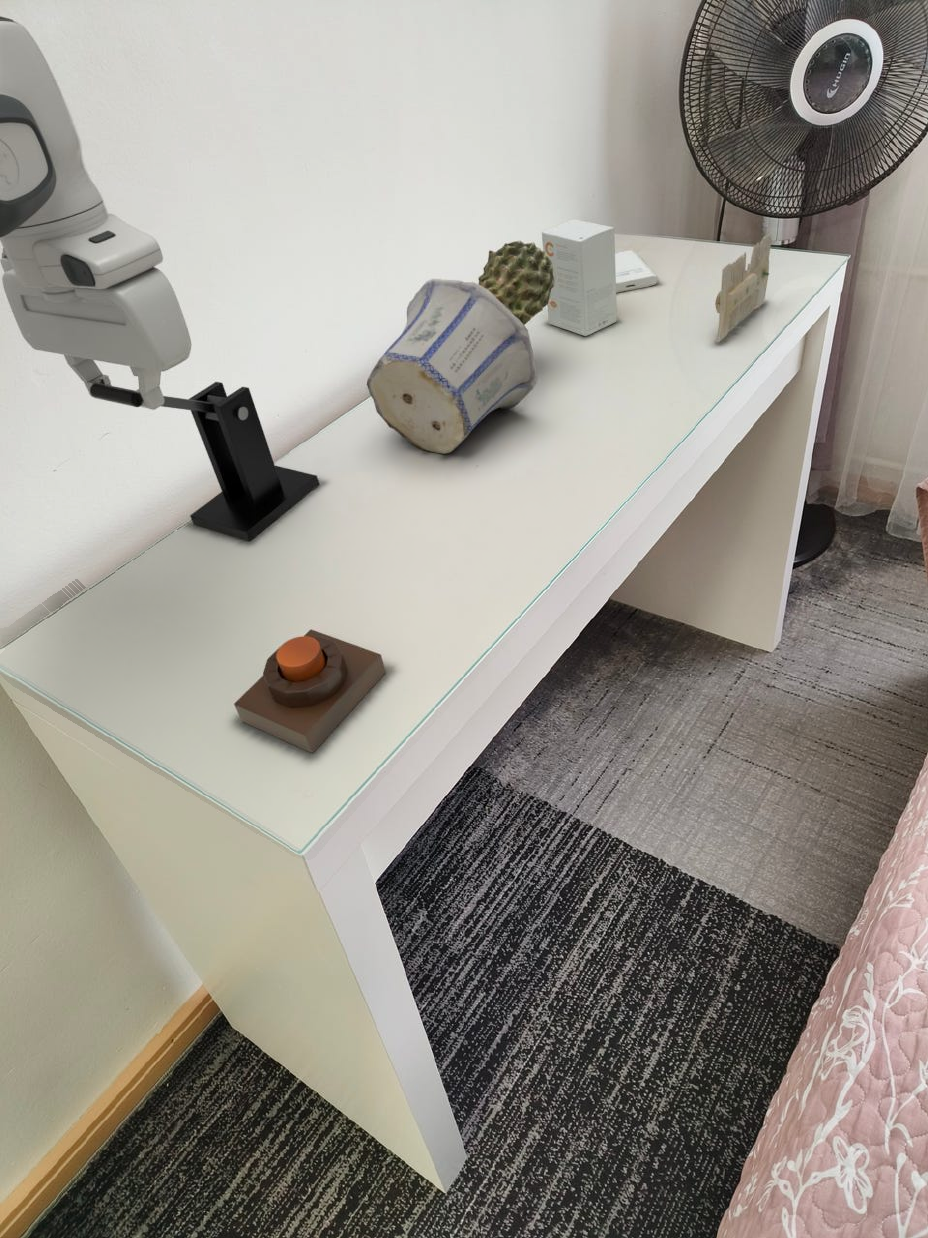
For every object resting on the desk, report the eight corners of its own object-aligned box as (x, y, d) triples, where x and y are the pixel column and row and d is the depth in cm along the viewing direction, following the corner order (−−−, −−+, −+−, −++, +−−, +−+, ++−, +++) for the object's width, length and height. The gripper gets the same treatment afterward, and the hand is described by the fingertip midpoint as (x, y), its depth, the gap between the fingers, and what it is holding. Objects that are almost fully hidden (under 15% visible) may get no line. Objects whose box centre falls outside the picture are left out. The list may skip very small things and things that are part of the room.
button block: (312, 754, 67) (299, 720, 65) (241, 721, 71) (226, 688, 69) (386, 672, 73) (376, 638, 71) (316, 646, 77) (305, 613, 75)
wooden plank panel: (754, 301, 120) (760, 227, 113) (771, 303, 119) (778, 228, 112) (710, 344, 112) (714, 267, 105) (727, 347, 110) (733, 269, 104)
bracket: (249, 541, 92) (206, 427, 83) (193, 524, 96) (146, 414, 87) (319, 484, 99) (286, 373, 90) (264, 470, 103) (227, 363, 94)
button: (306, 687, 68) (300, 671, 67) (273, 674, 70) (267, 658, 69) (333, 658, 70) (328, 643, 69) (301, 646, 72) (296, 631, 71)
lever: (129, 411, 77) (131, 384, 76) (88, 402, 80) (90, 376, 79) (251, 426, 90) (254, 403, 89) (212, 417, 93) (215, 395, 92)
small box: (618, 321, 121) (615, 226, 113) (585, 337, 119) (580, 241, 110) (579, 309, 126) (574, 217, 118) (547, 324, 124) (540, 231, 116)
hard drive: (633, 259, 139) (657, 284, 129) (584, 269, 139) (604, 295, 129) (633, 249, 138) (657, 274, 128) (584, 258, 138) (604, 284, 128)
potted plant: (457, 360, 85) (585, 190, 97) (326, 347, 94) (458, 194, 106) (505, 484, 98) (612, 321, 110) (385, 462, 107) (497, 314, 120)
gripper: (-37, 255, 74) (35, 401, 83) (110, 268, 64) (174, 432, 73) (24, 232, 78) (87, 373, 87) (171, 241, 68) (226, 400, 77)
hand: (128, 400), depth 80 cm, fingers closed on lever, 6 cm apart
